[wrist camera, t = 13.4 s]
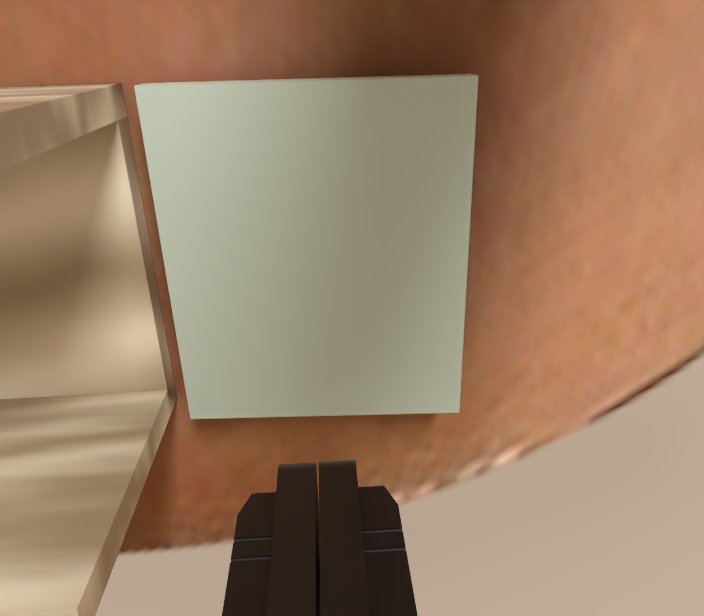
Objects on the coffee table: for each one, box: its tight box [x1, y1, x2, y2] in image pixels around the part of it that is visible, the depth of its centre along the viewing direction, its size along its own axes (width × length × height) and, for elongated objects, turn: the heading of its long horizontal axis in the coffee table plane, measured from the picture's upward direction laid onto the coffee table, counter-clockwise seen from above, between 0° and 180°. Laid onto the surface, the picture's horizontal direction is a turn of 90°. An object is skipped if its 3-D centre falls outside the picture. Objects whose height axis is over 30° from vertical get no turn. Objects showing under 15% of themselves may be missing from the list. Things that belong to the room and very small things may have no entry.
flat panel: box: [134, 74, 478, 419], centre depth 24 cm, size 14×1×12 cm
